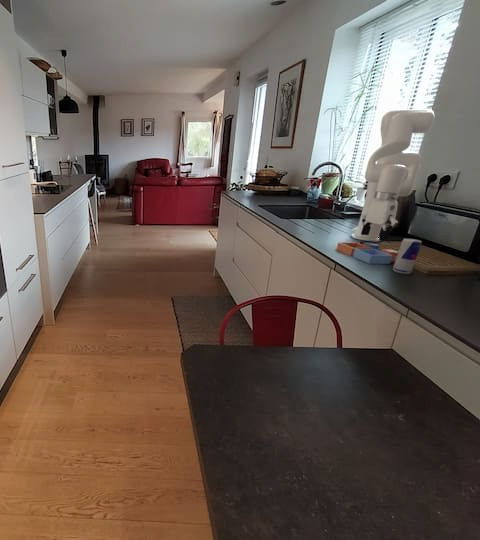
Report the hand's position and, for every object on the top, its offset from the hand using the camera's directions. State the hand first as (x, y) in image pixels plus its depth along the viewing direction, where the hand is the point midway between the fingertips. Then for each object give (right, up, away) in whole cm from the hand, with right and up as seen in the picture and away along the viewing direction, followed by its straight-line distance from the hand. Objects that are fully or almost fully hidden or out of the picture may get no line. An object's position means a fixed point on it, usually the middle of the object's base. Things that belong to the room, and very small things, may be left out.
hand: (373, 237), depth 139 cm
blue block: (0, -6, +3) cm, 7 cm away
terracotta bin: (-7, -6, +2) cm, 10 cm away
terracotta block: (+1, -10, -6) cm, 12 cm away
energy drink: (-5, -15, -19) cm, 25 cm away
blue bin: (-6, -10, -7) cm, 14 cm away
